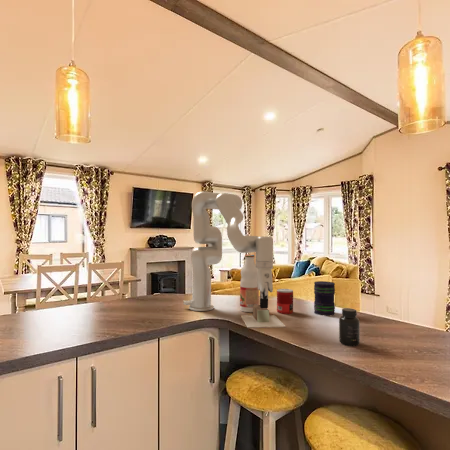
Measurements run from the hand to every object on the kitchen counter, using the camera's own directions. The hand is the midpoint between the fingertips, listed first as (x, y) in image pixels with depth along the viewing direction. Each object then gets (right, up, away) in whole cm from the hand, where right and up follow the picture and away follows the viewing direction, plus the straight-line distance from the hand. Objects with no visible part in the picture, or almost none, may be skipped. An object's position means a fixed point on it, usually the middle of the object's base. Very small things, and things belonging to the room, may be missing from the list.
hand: (263, 307), depth 138 cm
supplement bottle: (+27, -7, -24) cm, 37 cm away
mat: (0, -7, +3) cm, 8 cm away
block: (0, -4, +1) cm, 4 cm away
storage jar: (+32, -8, +20) cm, 38 cm away
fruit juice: (-4, -8, +24) cm, 26 cm away
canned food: (+13, -8, +21) cm, 26 cm away
